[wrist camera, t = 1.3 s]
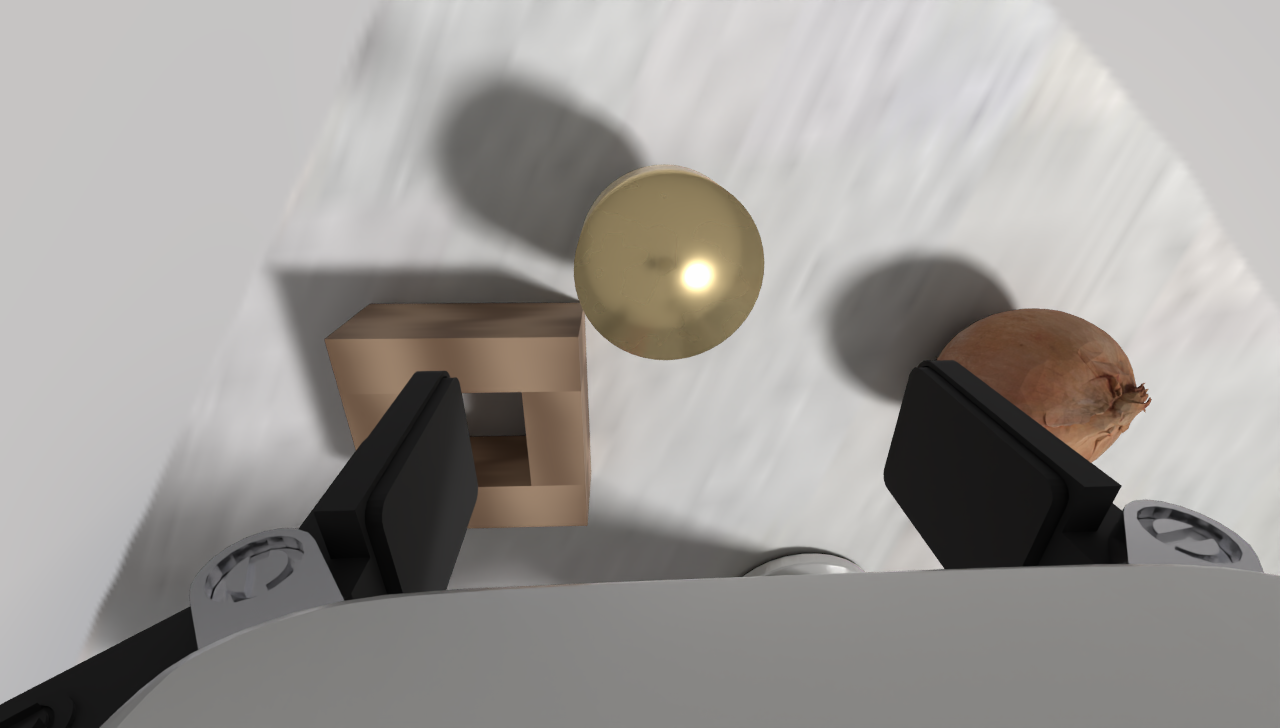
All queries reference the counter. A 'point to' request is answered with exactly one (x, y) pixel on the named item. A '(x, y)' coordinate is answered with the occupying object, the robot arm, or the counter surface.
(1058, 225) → the counter surface
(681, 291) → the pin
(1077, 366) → the onion
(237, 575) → the robot arm
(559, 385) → the block
